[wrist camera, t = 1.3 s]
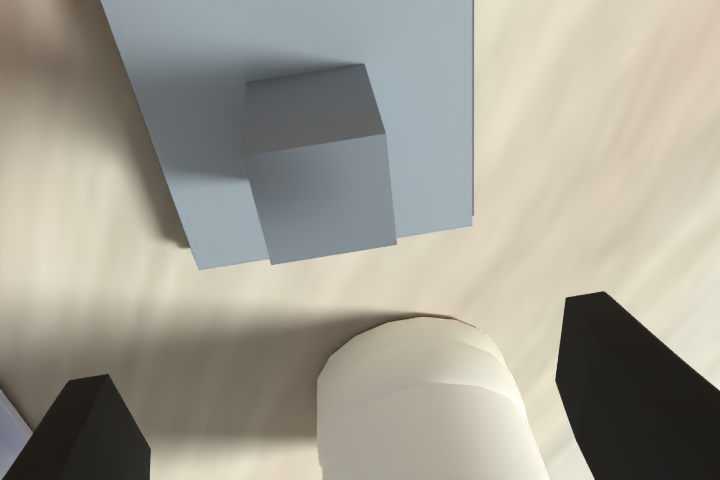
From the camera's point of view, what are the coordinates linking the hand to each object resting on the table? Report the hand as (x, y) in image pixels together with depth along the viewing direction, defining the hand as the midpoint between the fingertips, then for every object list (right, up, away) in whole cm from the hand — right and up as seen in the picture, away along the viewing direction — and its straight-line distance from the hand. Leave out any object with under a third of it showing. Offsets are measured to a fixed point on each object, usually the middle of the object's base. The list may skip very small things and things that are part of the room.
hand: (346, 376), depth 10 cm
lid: (-1, +6, +7) cm, 9 cm away
